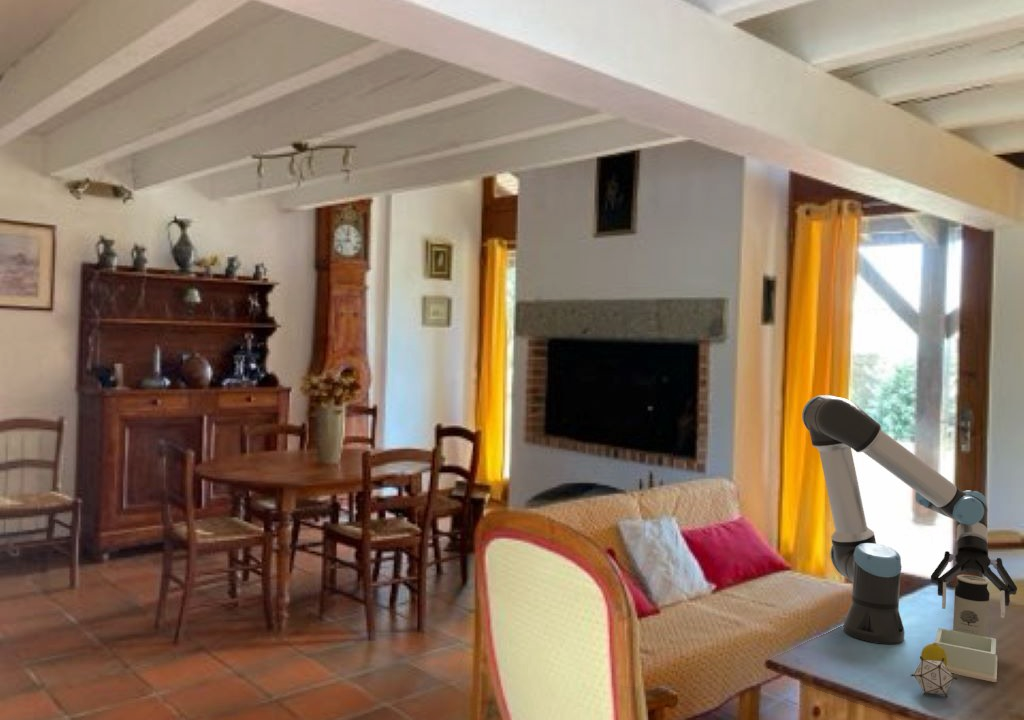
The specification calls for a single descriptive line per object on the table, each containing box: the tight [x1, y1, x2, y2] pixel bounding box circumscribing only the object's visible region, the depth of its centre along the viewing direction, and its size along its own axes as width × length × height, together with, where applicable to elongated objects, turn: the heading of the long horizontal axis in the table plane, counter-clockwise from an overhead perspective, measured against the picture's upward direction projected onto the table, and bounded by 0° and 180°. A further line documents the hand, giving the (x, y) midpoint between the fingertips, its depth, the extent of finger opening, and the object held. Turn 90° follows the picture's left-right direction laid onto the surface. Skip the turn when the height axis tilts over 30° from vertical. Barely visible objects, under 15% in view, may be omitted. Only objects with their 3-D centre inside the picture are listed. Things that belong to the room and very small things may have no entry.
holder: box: [934, 627, 998, 683], centre depth 209 cm, size 18×14×6 cm
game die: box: [910, 655, 959, 699], centre depth 189 cm, size 9×8×10 cm
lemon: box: [920, 642, 947, 665], centre depth 200 cm, size 6×6×8 cm
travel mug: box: [952, 574, 991, 637], centre depth 221 cm, size 8×8×18 cm
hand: (973, 610), depth 220 cm, fingers open, 13 cm apart
